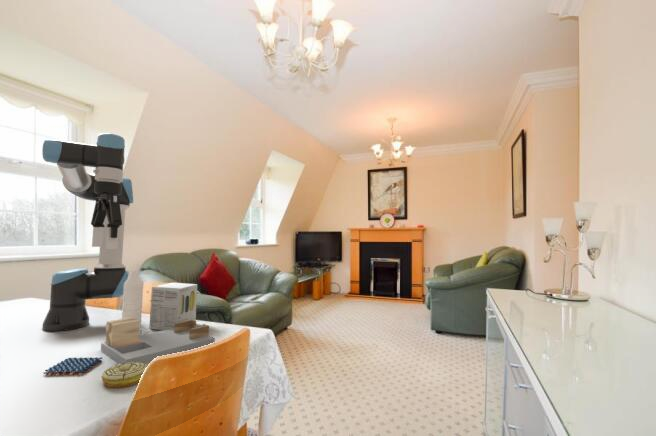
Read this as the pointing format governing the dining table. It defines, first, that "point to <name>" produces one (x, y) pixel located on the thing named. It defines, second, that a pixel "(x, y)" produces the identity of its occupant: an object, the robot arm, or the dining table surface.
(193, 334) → the walls
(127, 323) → the block
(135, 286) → the water bottle
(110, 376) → the decorated donut
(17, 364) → the dining table surface
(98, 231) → the robot arm
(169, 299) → the supplement box
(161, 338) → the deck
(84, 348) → the dining table surface
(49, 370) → the woven mat
